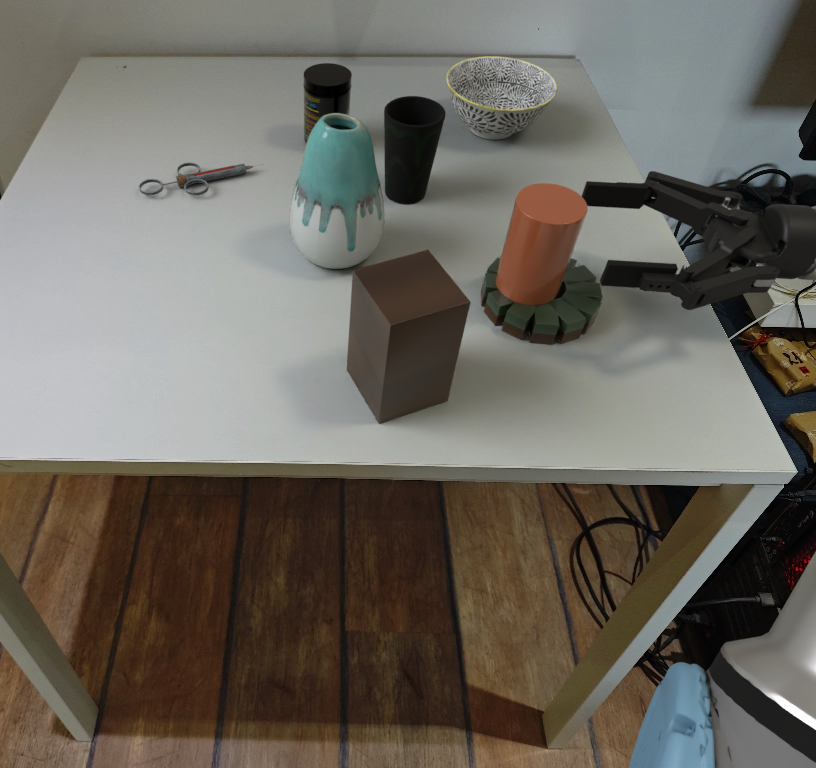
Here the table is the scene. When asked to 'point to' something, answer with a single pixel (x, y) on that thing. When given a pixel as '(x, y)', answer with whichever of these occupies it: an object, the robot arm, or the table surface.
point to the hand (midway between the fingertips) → (592, 230)
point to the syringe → (198, 177)
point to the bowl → (499, 94)
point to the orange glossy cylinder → (539, 242)
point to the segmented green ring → (546, 307)
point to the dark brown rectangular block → (404, 334)
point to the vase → (337, 195)
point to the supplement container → (325, 93)
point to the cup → (410, 146)
